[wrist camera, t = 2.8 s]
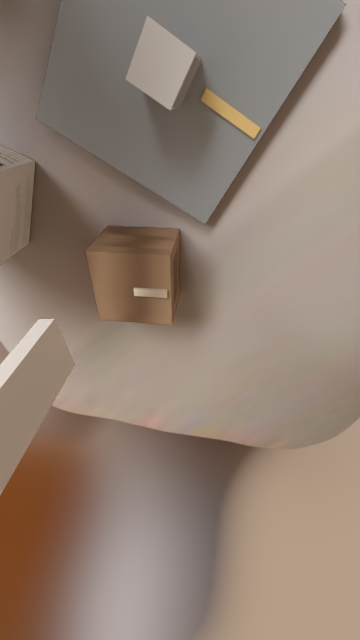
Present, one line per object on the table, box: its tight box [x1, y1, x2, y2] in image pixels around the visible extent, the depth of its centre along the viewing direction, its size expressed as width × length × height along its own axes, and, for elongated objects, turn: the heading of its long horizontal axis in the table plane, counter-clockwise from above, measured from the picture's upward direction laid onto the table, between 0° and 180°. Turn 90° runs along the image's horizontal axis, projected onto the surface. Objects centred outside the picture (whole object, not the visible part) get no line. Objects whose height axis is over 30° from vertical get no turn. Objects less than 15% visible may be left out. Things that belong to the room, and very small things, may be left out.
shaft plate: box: [36, 0, 346, 224], centre depth 20 cm, size 16×16×5 cm
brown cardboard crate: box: [85, 226, 180, 325], centre depth 30 cm, size 7×7×6 cm
